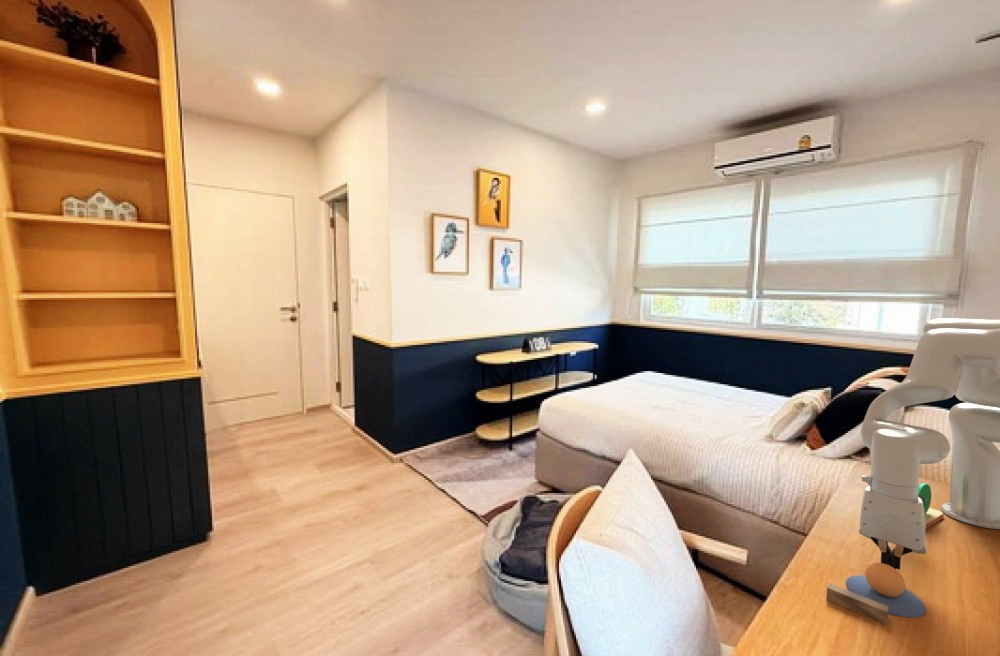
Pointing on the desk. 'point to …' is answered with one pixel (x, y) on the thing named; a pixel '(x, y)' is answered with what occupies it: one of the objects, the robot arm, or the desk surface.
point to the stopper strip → (858, 603)
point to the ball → (885, 579)
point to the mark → (888, 598)
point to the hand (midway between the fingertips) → (890, 569)
